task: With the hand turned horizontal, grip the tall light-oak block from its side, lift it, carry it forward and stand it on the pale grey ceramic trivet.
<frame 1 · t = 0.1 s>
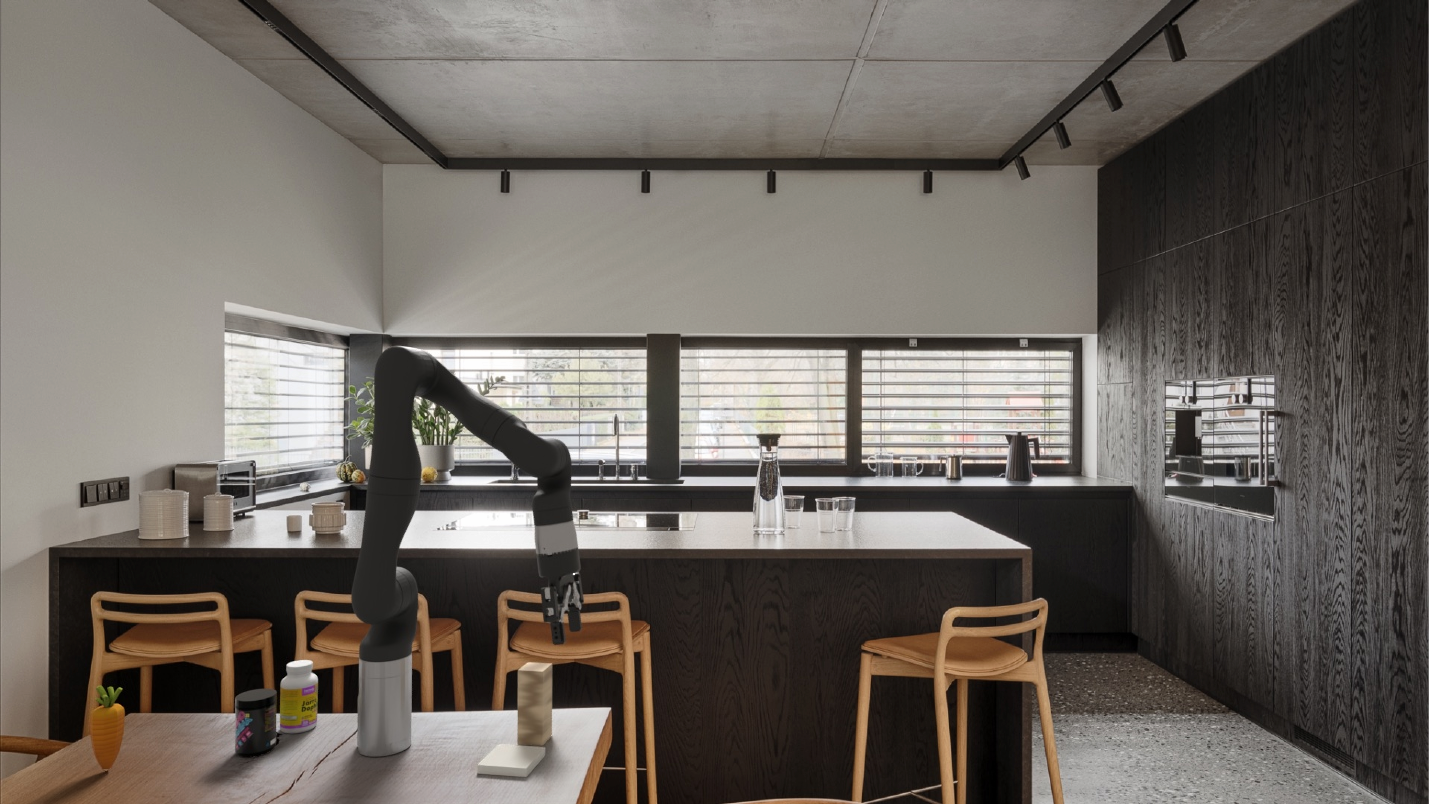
hand: (568, 637, 146), 22 cm above the table, tool pointing down, fingers open, 8 cm apart
supplement bottle: (298, 729, 161), on the table
oak block: (534, 739, 155), on the table
supplement container: (255, 752, 150), on the table
carrot: (106, 772, 141), on the table
trivet: (512, 764, 144), on the table
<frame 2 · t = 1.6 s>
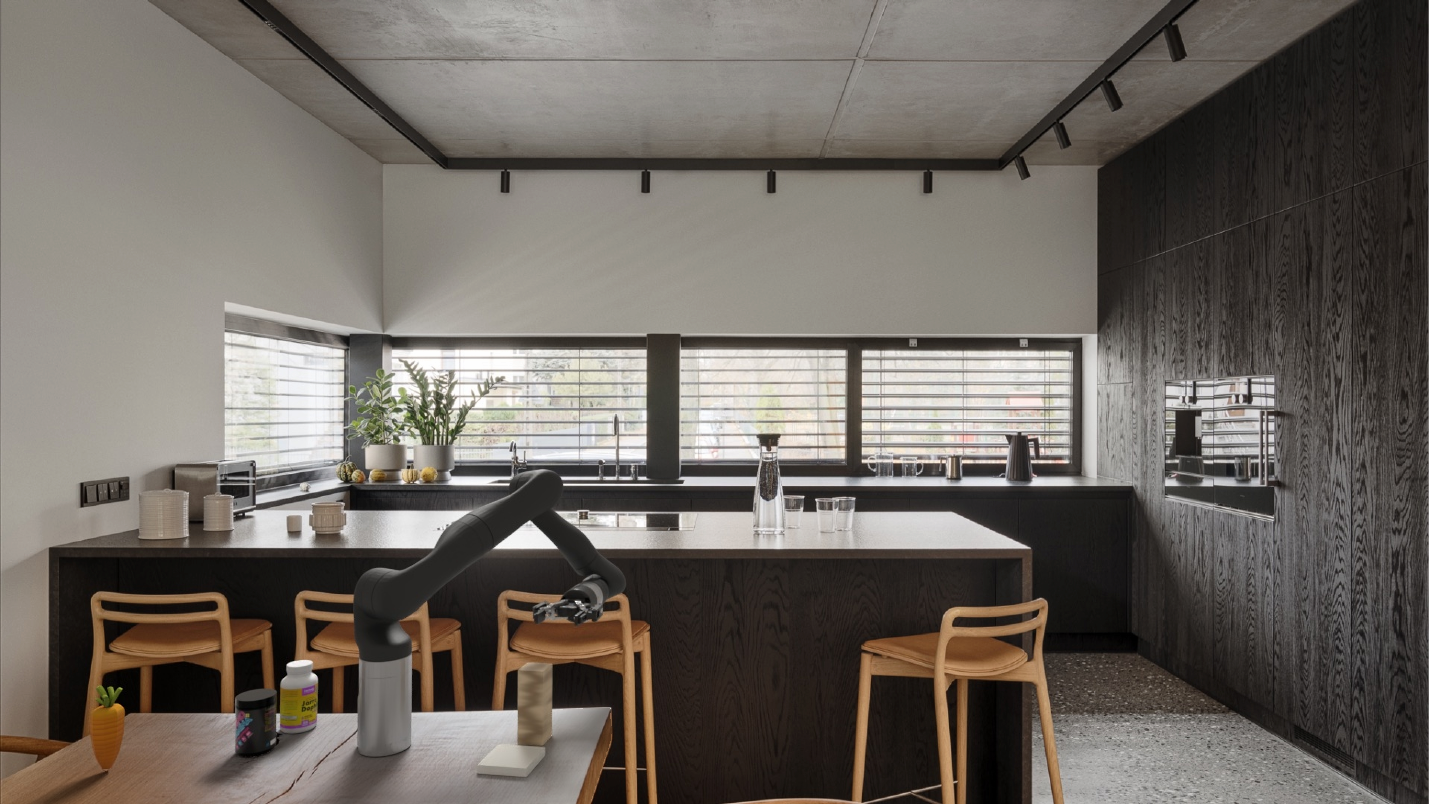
hand: (556, 620, 166), 20 cm above the table, tool horizontal, fingers open, 8 cm apart
nothing on the table moved.
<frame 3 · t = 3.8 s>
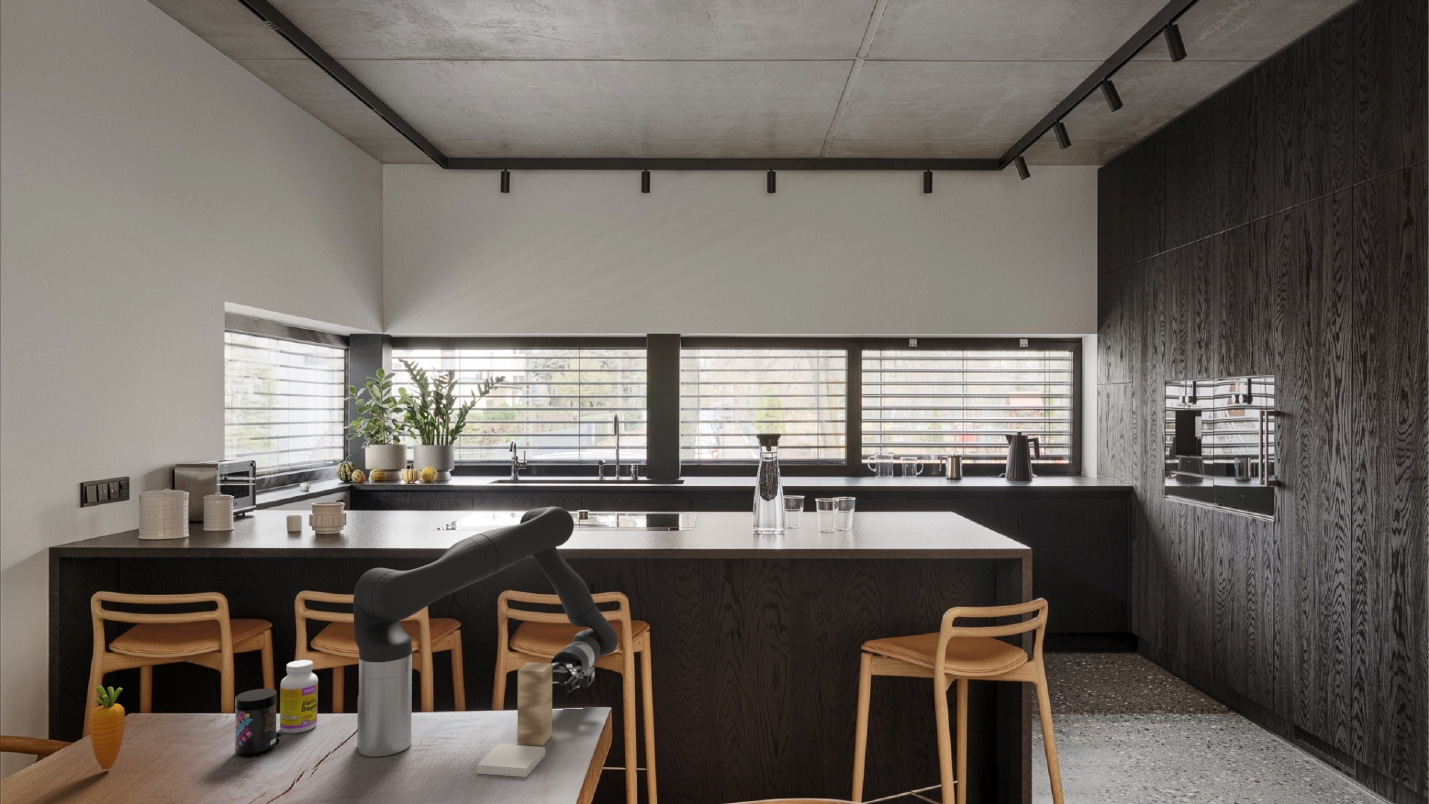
hand: (546, 687, 162), 8 cm above the table, tool horizontal, fingers open, 8 cm apart
nothing on the table moved.
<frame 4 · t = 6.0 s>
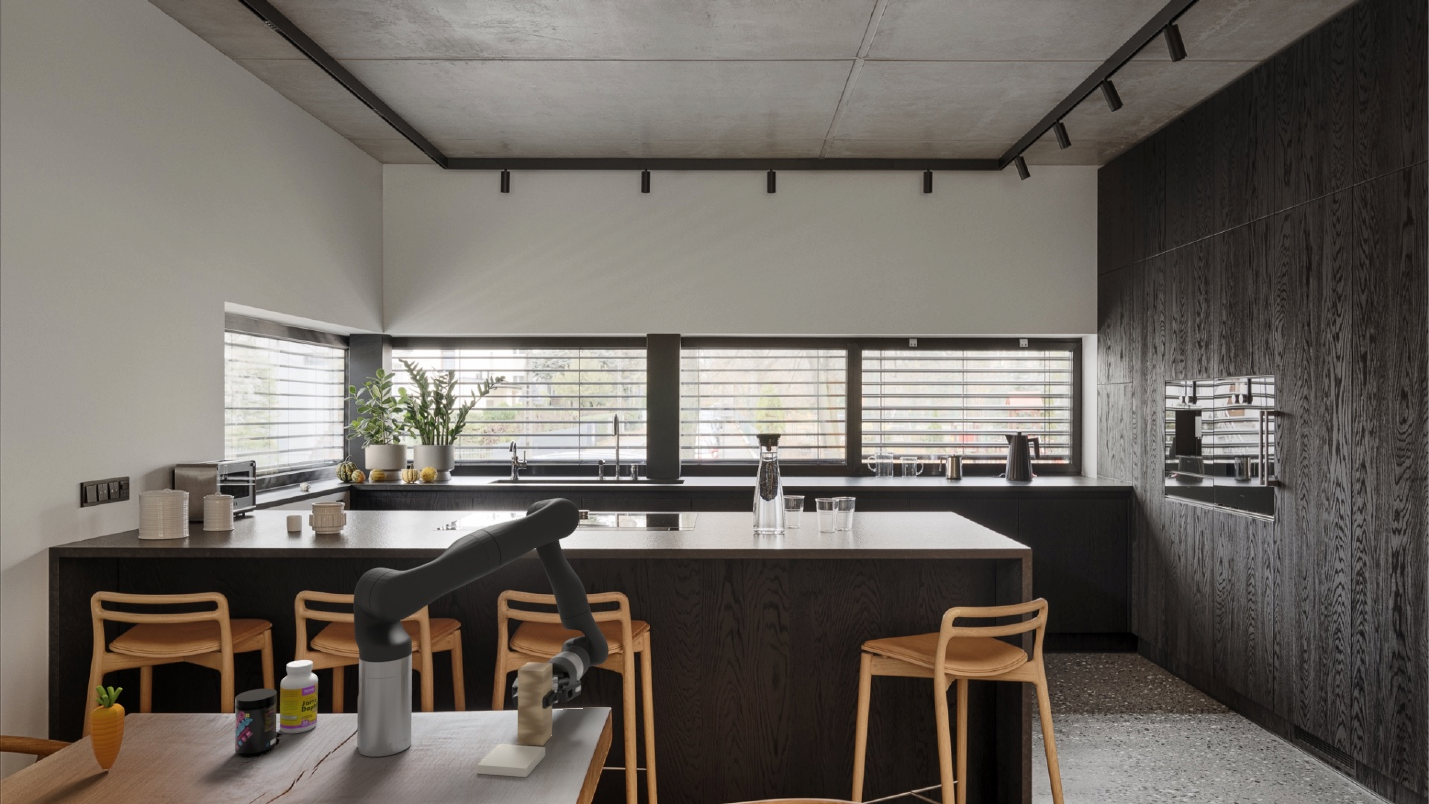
hand: (530, 702, 153), 8 cm above the table, tool horizontal, fingers closed on oak block, 5 cm apart
oak block: (535, 739, 155), on the table, touching gripper
everything else where it was.
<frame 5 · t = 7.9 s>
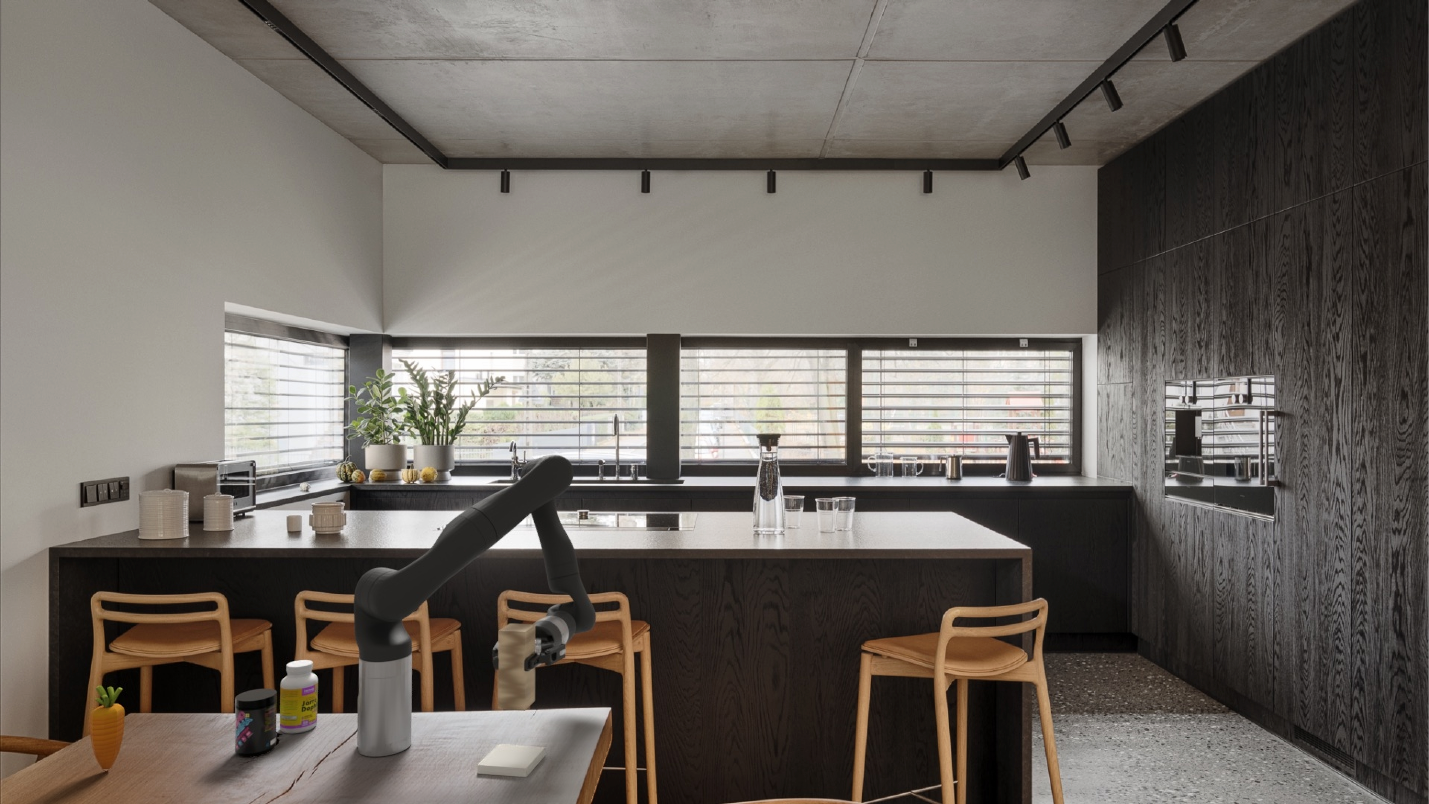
hand: (511, 665, 144), 18 cm above the table, tool horizontal, fingers closed on oak block, 5 cm apart
oak block: (516, 704, 147), point 10 cm above the table, touching gripper
everything else where it was.
when the fingers open (10 cm above the table, at t = 9.9 s): oak block stays where it is, resting on trivet.
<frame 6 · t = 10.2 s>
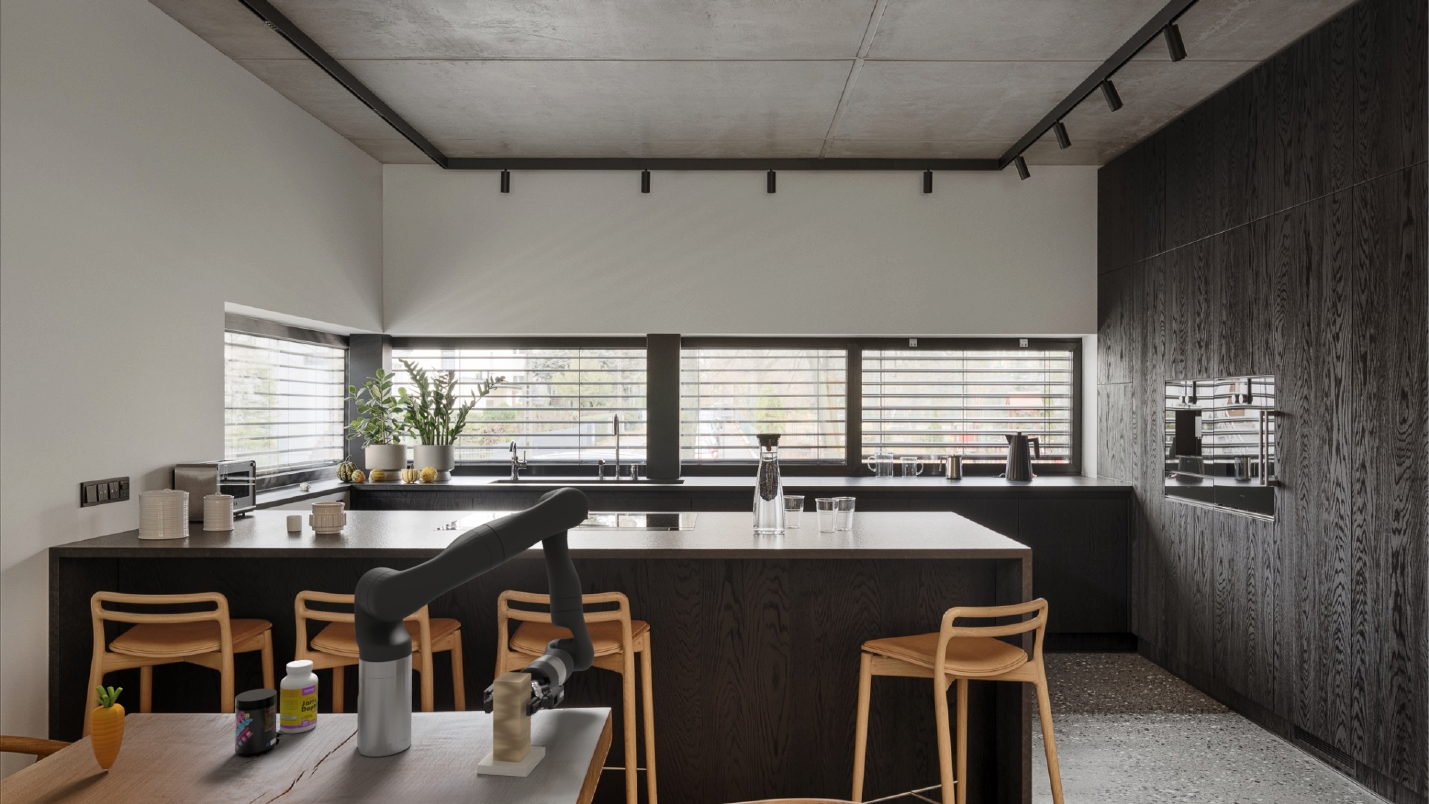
hand: (507, 709, 142), 11 cm above the table, tool horizontal, fingers open, 7 cm apart
oak block: (512, 755, 144), point 1 cm above the table, touching trivet
everything else where it was.
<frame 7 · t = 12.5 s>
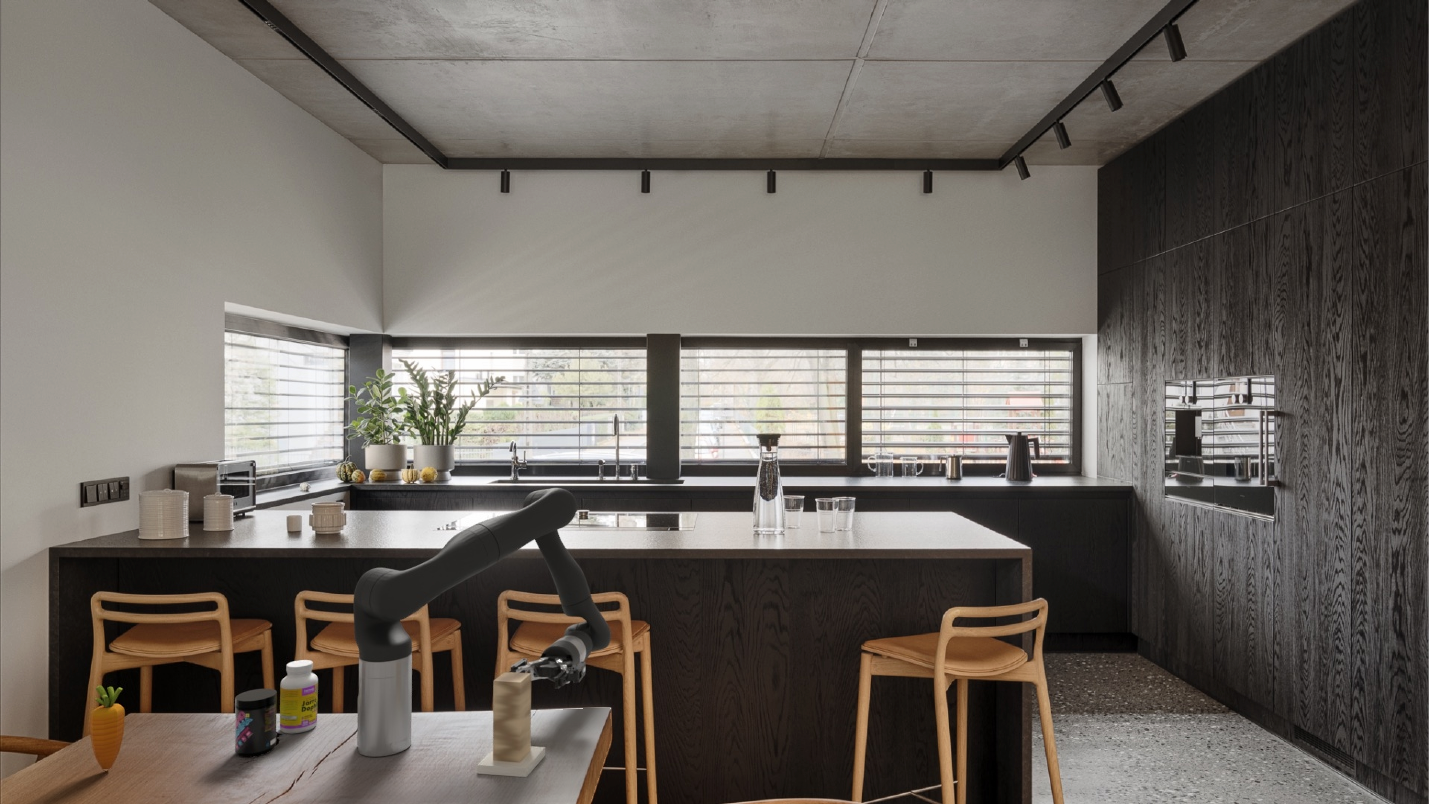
hand: (535, 682, 155), 11 cm above the table, tool horizontal, fingers open, 8 cm apart
nothing on the table moved.
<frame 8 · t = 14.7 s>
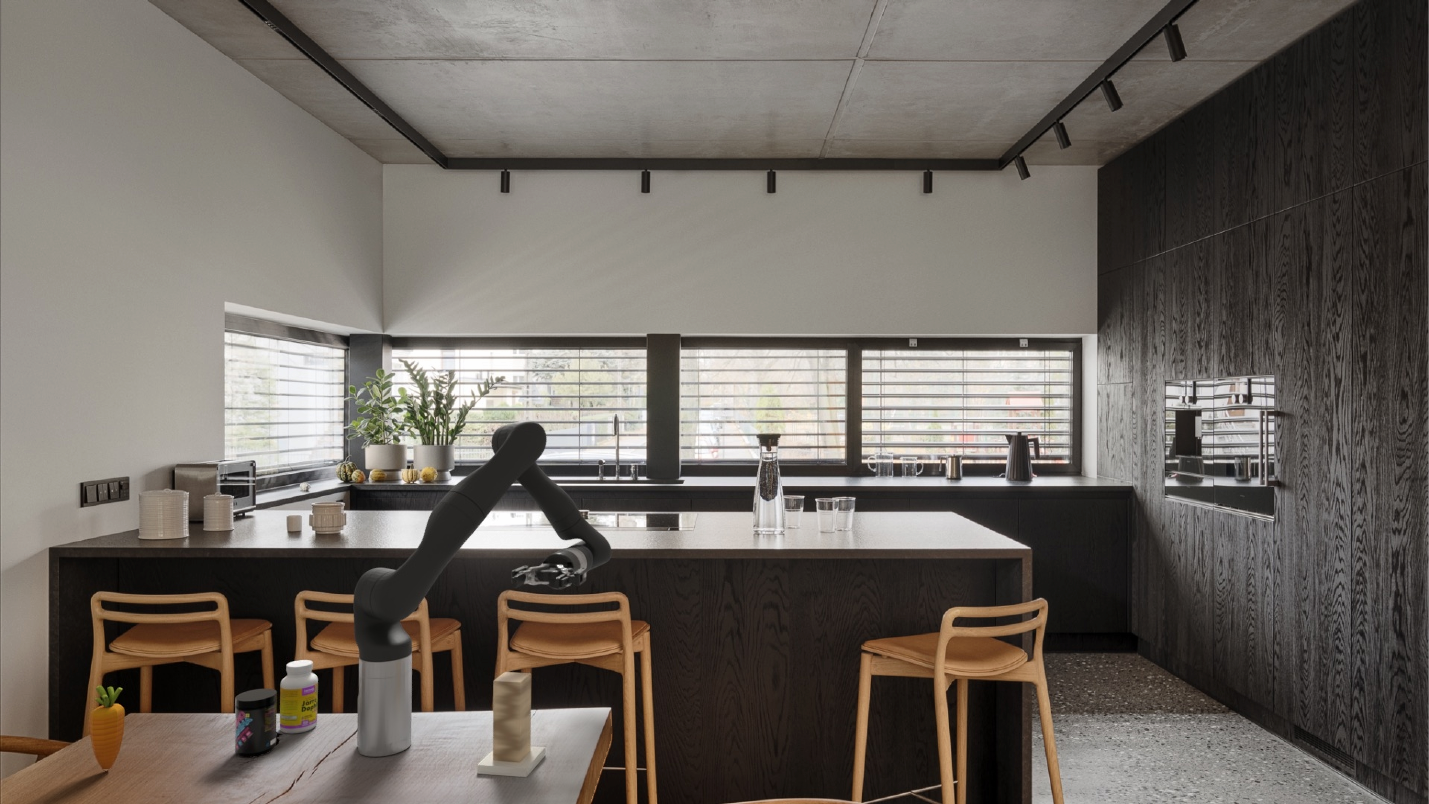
hand: (536, 583, 156), 30 cm above the table, tool horizontal, fingers open, 8 cm apart
nothing on the table moved.
at the end: oak block inside the target area on the trivet (0.1 cm from its centre), point 1.5 cm above the trivet's base; oak block tilted 0°; the gripper is holding nothing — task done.
